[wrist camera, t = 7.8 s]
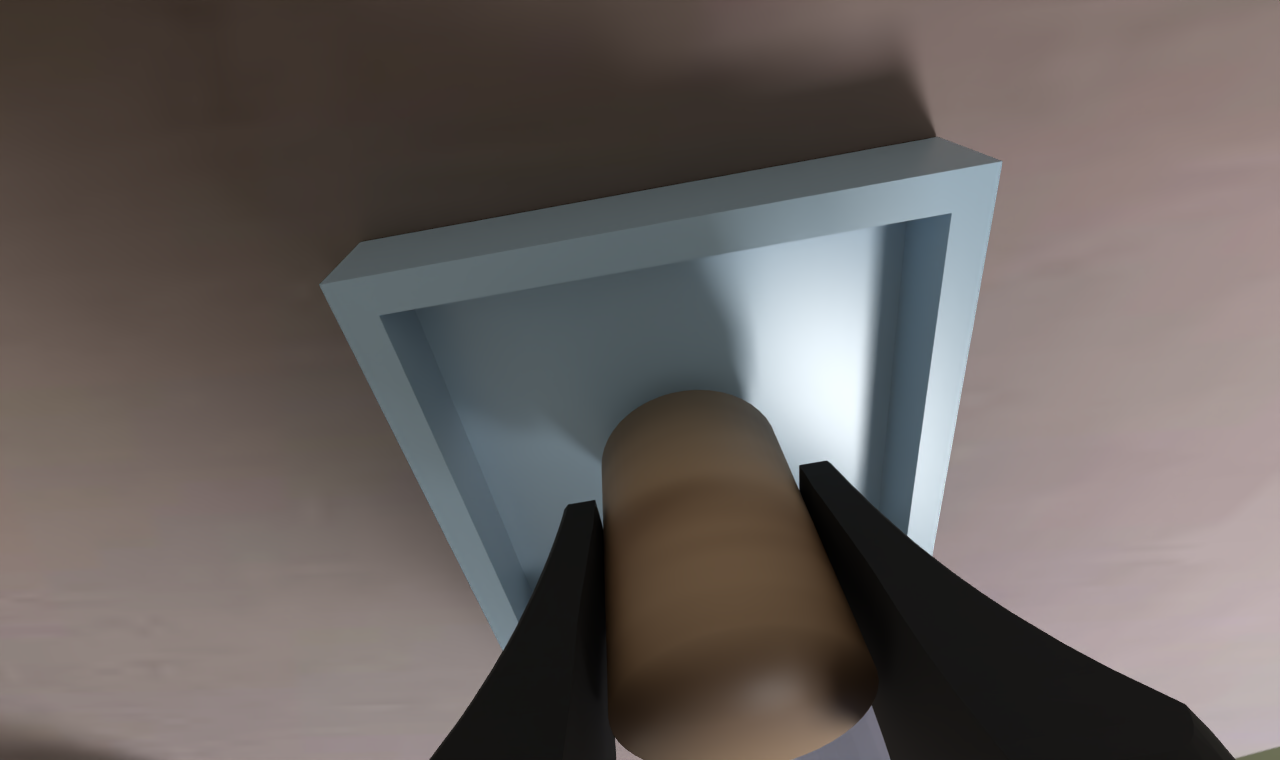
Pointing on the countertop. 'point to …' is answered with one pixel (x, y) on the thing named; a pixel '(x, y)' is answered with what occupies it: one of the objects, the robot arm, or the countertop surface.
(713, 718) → the tan rounded cylinder
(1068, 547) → the countertop surface
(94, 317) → the countertop surface
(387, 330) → the light blue square tray
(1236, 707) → the countertop surface
